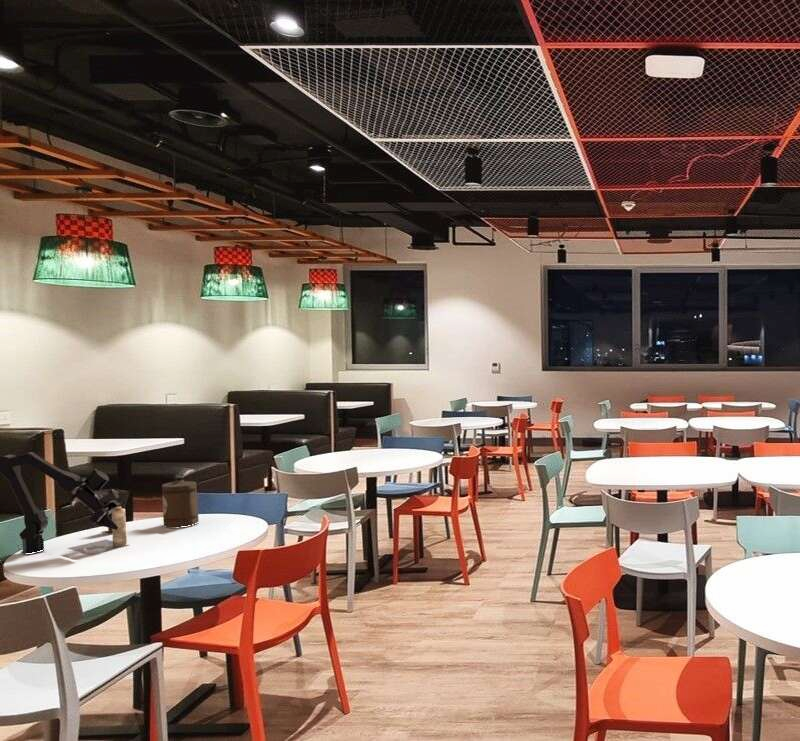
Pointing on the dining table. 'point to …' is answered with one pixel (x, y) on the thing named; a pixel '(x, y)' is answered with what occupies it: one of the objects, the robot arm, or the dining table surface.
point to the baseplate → (95, 547)
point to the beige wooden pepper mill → (119, 527)
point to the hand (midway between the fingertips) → (121, 526)
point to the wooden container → (180, 503)
